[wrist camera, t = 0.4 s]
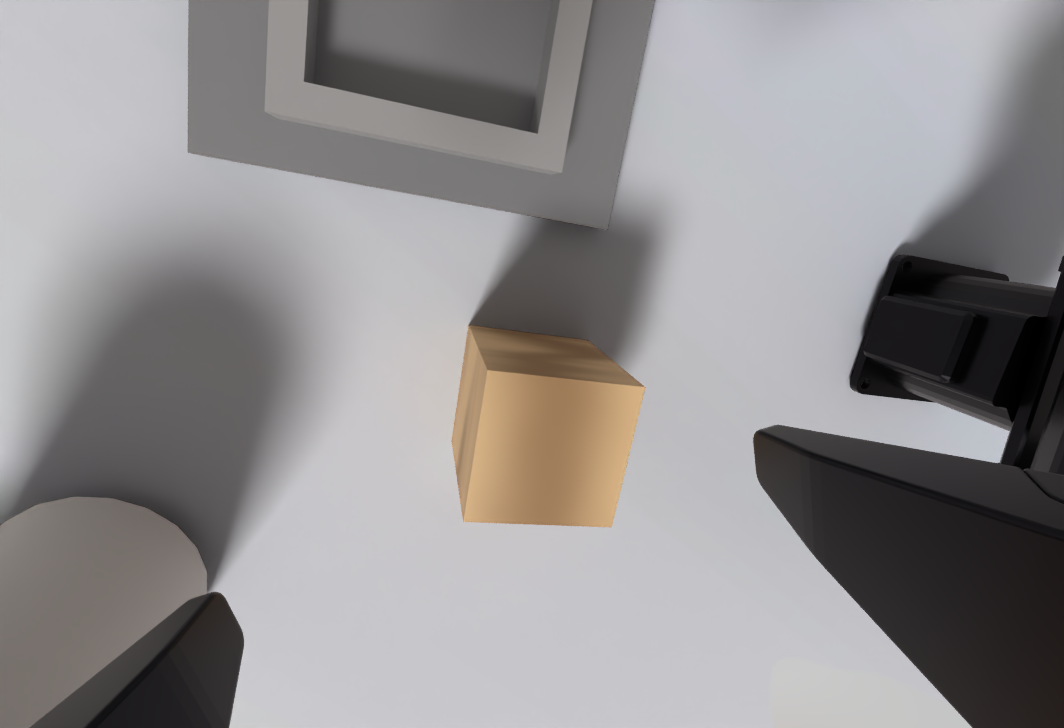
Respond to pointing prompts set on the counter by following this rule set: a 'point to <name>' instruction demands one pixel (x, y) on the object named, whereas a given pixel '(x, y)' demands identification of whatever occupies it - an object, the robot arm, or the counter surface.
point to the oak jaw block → (541, 429)
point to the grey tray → (425, 95)
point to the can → (82, 594)
